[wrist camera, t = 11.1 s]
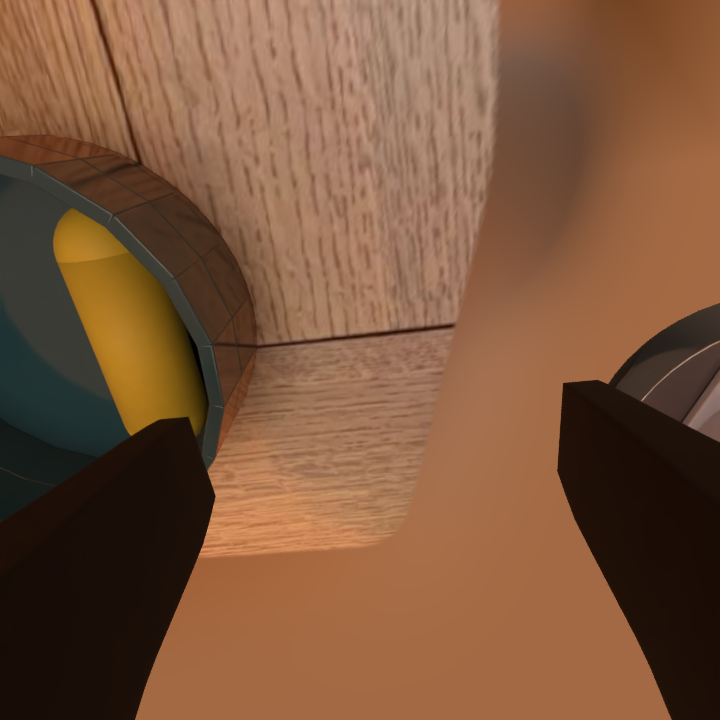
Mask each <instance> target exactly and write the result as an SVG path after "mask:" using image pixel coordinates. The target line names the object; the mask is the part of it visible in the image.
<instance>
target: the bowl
mask: <svg viewBox="0 0 720 720" xmlns="http://www.w3.org/2000/svg"><path fill="white" fill-rule="evenodd" d="M71 208H74V209H76V210H77V211H79V212H81V213H82V214H84V215H85V216H87V217H89V218H90V219H92V220H94V221H95V222H97V223H99V224H100V225H102V226H104V227H105V228H107V230H108V231H109V232H110V233H111V234H112V235H113V236H114V237H115V238H116V239H117V240H118V241H119V242H120V243H121V244H122V245H123V246H124V247H125V248H126V249H127V250H128V251H129V252H130V253H131V254H132V255H133V256H134V257H135V258H136V259H137V260H138V261H139V262H140V263H141V264H142V265H143V266H144V267H145V268H146V269H147V270H148V271H149V272H150V273H151V274H152V275H153V276H154V277H155V278H156V279H157V280H158V281H159V282H160V283H161V284H162V285H163V287H164V289H165V290H166V292H167V294H168V296H169V298H170V299H171V301H172V303H173V305H174V306H175V308H176V310H177V312H178V313H179V315H180V317H181V319H182V321H183V322H184V324H185V327H186V330H187V333H188V337H189V340H190V343H191V346H192V350H193V353H194V356H195V359H196V362H197V366H198V369H199V372H200V375H201V378H202V382H203V385H204V388H205V391H206V394H207V398H208V403H209V410H208V416H207V421H206V424H205V426H204V428H203V429H202V431H201V432H200V434H199V435H198V436H197V437H196V440H197V443H198V446H199V449H200V451H201V454H202V457H203V460H204V463H205V466H206V469H207V470H208V469H209V467H210V466H211V464H212V463H213V461H214V460H215V458H216V456H217V454H218V452H219V450H220V448H221V446H222V444H223V442H224V440H225V438H226V436H227V433H228V431H229V429H230V427H231V425H232V423H233V421H234V419H235V417H236V415H237V413H238V411H239V409H240V407H241V405H242V403H243V401H244V399H245V397H246V394H247V390H248V385H249V383H250V379H251V376H252V372H253V369H254V365H255V357H256V349H257V337H256V322H255V316H254V310H253V304H252V301H251V298H250V294H249V291H248V288H247V284H246V282H245V280H244V277H243V275H242V273H241V271H240V268H239V266H238V264H237V262H236V260H235V258H234V257H233V255H232V253H231V252H230V250H229V248H228V247H227V245H226V243H225V242H224V240H223V239H222V237H221V236H220V235H219V233H218V232H217V231H216V229H215V228H214V227H213V225H212V224H211V223H210V222H209V220H208V219H207V218H206V217H205V216H204V215H203V214H202V213H201V212H200V211H199V210H198V209H197V207H196V206H195V205H194V204H193V203H192V202H191V201H190V200H189V199H188V198H187V197H185V196H184V195H183V194H182V193H181V192H179V191H178V190H177V189H176V188H175V187H173V186H172V185H171V184H170V183H169V182H167V181H166V180H164V179H163V178H161V177H160V176H158V175H157V174H155V173H154V172H152V171H151V170H149V169H148V168H146V167H145V166H143V165H141V164H139V163H137V162H135V161H133V160H131V159H129V158H127V157H125V156H123V155H121V154H119V153H117V152H114V151H111V150H109V149H106V148H103V147H100V146H98V145H95V144H92V143H88V142H83V141H79V140H74V139H70V138H66V137H56V136H53V135H26V136H4V137H0V522H1V521H3V520H4V519H6V518H7V517H9V516H10V515H12V514H14V513H15V512H17V511H18V510H20V509H21V508H23V507H25V506H26V505H28V504H29V503H31V502H32V501H34V500H36V499H37V498H39V497H40V496H42V495H43V494H45V493H47V492H48V491H50V490H51V489H53V488H54V487H56V486H57V485H59V484H61V483H62V482H64V481H65V480H67V479H68V478H69V477H71V476H72V475H74V474H75V473H77V472H78V471H80V470H81V469H83V468H84V467H86V466H87V465H89V464H90V463H92V462H93V461H95V460H96V459H98V458H99V457H100V456H102V455H103V454H105V453H106V452H108V451H109V450H111V449H112V448H114V447H115V446H117V445H118V444H120V443H121V442H123V441H124V440H126V439H127V438H129V437H130V436H131V435H130V434H129V433H128V431H127V430H126V428H125V426H124V424H123V421H122V419H121V416H120V414H119V411H118V409H117V407H116V404H115V402H114V399H113V397H112V394H111V392H110V390H109V387H108V385H107V382H106V380H105V377H104V375H103V373H102V370H101V368H100V365H99V363H98V360H97V358H96V356H95V353H94V351H93V348H92V346H91V343H90V341H89V339H88V336H87V334H86V331H85V329H84V326H83V324H82V322H81V319H80V317H79V314H78V312H77V309H76V307H75V305H74V302H73V300H72V297H71V295H70V292H69V290H68V288H67V285H66V283H65V280H64V278H63V275H62V273H61V271H60V268H59V266H58V263H57V261H56V257H55V254H54V248H53V238H54V232H55V229H56V227H57V224H58V222H59V220H60V219H61V218H62V216H63V215H64V214H65V213H66V212H67V211H68V210H70V209H71Z"/></svg>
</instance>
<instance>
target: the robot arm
mask: <svg viewBox="0 0 720 720" xmlns="http://www.w3.org/2000/svg"><path fill="white" fill-rule="evenodd" d="M557 471H558V474H559V477H560V480H561V483H562V486H563V489H564V492H565V494H566V497H567V500H568V503H569V505H570V508H571V511H572V513H573V516H574V519H575V521H576V523H577V525H578V527H579V529H580V531H581V533H582V535H583V536H584V538H585V540H586V542H587V544H588V546H589V548H590V550H591V552H592V554H593V556H594V558H595V560H596V562H597V564H598V565H599V567H600V569H601V571H602V573H603V575H604V577H605V579H606V581H607V583H608V585H609V587H610V588H611V590H612V592H613V594H614V596H615V598H616V600H617V602H618V604H619V606H620V608H621V610H622V611H623V613H624V615H625V617H626V619H627V621H628V623H629V625H630V627H631V629H632V631H633V632H634V634H635V636H636V638H637V641H638V643H639V645H640V646H641V649H642V651H643V653H644V655H645V657H646V659H647V661H648V664H649V666H650V668H651V670H652V673H653V675H654V678H655V680H656V683H657V685H658V687H659V690H660V692H661V695H662V697H663V700H664V702H665V705H666V707H667V709H668V712H669V714H670V716H671V719H672V720H720V370H719V371H718V373H717V374H716V376H715V377H714V378H713V380H712V381H711V383H710V384H709V385H708V387H707V388H706V390H705V391H704V393H703V394H702V395H701V397H700V398H699V400H698V401H697V402H696V404H695V405H694V407H693V408H692V410H691V411H690V412H689V414H688V415H687V417H686V418H685V419H684V421H683V422H682V423H681V422H679V421H677V420H675V419H673V418H672V417H670V416H668V415H666V414H664V413H662V412H660V411H658V410H656V409H655V408H653V407H651V406H649V405H647V404H645V403H643V402H641V401H639V400H638V399H636V398H634V397H632V396H630V395H628V394H626V393H624V392H622V391H620V390H618V389H616V388H614V387H612V386H610V385H608V384H606V383H604V382H601V381H599V380H592V381H581V382H569V383H563V394H562V409H561V424H560V439H559V454H558V469H557ZM215 497H216V496H215V493H214V490H213V487H212V484H211V481H210V478H209V475H208V472H207V469H206V466H205V463H204V460H203V457H202V454H201V451H200V449H199V446H198V443H197V440H196V437H195V434H194V431H193V428H192V425H191V422H190V419H189V417H179V418H168V419H159V420H157V421H155V422H153V423H152V424H150V425H148V426H146V427H145V428H143V429H141V430H140V431H138V432H137V433H135V434H133V435H132V436H130V437H129V438H127V439H126V440H124V441H123V442H121V443H120V444H118V445H117V446H115V447H114V448H112V449H111V450H109V451H108V452H106V453H105V454H103V455H102V456H100V457H99V458H98V459H96V460H95V461H93V462H92V463H90V464H89V465H87V466H86V467H84V468H83V469H81V470H80V471H78V472H77V473H75V474H74V475H72V476H71V477H69V478H68V479H67V480H65V481H64V482H62V483H61V484H59V485H57V486H56V487H54V488H53V489H51V490H50V491H48V492H47V493H45V494H43V495H42V496H40V497H39V498H37V499H36V500H34V501H32V502H31V503H29V504H28V505H26V506H25V507H23V508H21V509H20V510H18V511H17V512H15V513H14V514H12V515H10V516H9V517H7V518H6V519H4V520H3V521H1V522H0V720H135V718H136V715H137V711H138V708H139V705H140V701H141V699H142V695H143V692H144V689H145V686H146V683H147V680H148V677H149V675H150V672H151V670H152V667H153V664H154V661H155V659H156V656H157V654H158V651H159V649H160V647H161V645H162V642H163V640H164V637H165V635H166V633H167V630H168V628H169V625H170V623H171V621H172V618H173V616H174V613H175V611H176V609H177V606H178V604H179V602H180V599H181V597H182V594H183V592H184V589H185V587H186V585H187V582H188V580H189V578H190V575H191V573H192V570H193V568H194V565H195V563H196V560H197V558H198V556H199V553H200V550H201V548H202V545H203V543H204V539H205V536H206V532H207V528H208V525H209V521H210V517H211V513H212V509H213V505H214V501H215Z"/></svg>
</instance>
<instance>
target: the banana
mask: <svg viewBox="0 0 720 720" xmlns="http://www.w3.org/2000/svg"><path fill="white" fill-rule="evenodd" d="M53 248H54V254H55V257H56V261H57V263H58V266H59V268H60V271H61V273H62V275H63V278H64V280H65V283H66V285H67V288H68V290H69V292H70V295H71V297H72V300H73V302H74V305H75V307H76V309H77V312H78V314H79V317H80V319H81V322H82V324H83V326H84V329H85V331H86V334H87V336H88V339H89V341H90V343H91V346H92V348H93V351H94V353H95V356H96V358H97V360H98V363H99V365H100V368H101V370H102V373H103V375H104V377H105V380H106V382H107V385H108V387H109V390H110V392H111V394H112V397H113V399H114V402H115V404H116V407H117V409H118V411H119V414H120V416H121V419H122V421H123V424H124V426H125V428H126V430H127V431H128V433H129V434H130V435H131V436H132V435H133V434H135V433H137V432H138V431H140V430H141V429H143V428H145V427H146V426H148V425H150V424H152V423H153V422H155V421H157V420H159V419H168V418H179V417H189V419H190V422H191V425H192V428H193V431H194V434H195V437H197V436H198V435H199V434H200V432H201V431H202V429H203V428H204V426H205V424H206V421H207V416H208V410H209V403H208V398H207V394H206V391H205V388H204V385H203V382H202V378H201V375H200V372H199V369H198V366H197V362H196V359H195V356H194V353H193V350H192V346H191V343H190V340H189V337H188V333H187V330H186V327H185V324H184V322H183V321H182V319H181V317H180V315H179V313H178V312H177V310H176V308H175V306H174V305H173V303H172V301H171V299H170V298H169V296H168V294H167V292H166V290H165V289H164V287H163V285H162V284H161V283H160V282H159V281H158V280H157V279H156V278H155V277H154V276H153V275H152V274H151V273H150V272H149V271H148V270H147V269H146V268H145V267H144V266H143V265H142V264H141V263H140V262H139V261H138V260H137V259H136V258H135V257H134V256H133V255H132V254H131V253H130V252H129V251H128V250H127V249H126V248H125V247H124V246H123V245H122V244H121V243H120V242H119V241H118V240H117V239H116V238H115V237H114V236H113V235H112V234H111V233H110V232H109V231H108V230H107V228H105V227H104V226H102V225H100V224H99V223H97V222H95V221H94V220H92V219H90V218H89V217H87V216H85V215H84V214H82V213H81V212H79V211H77V210H76V209H74V208H71V209H70V210H68V211H67V212H66V213H65V214H64V215H63V216H62V218H61V219H60V220H59V222H58V224H57V227H56V229H55V232H54V238H53Z"/></svg>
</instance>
